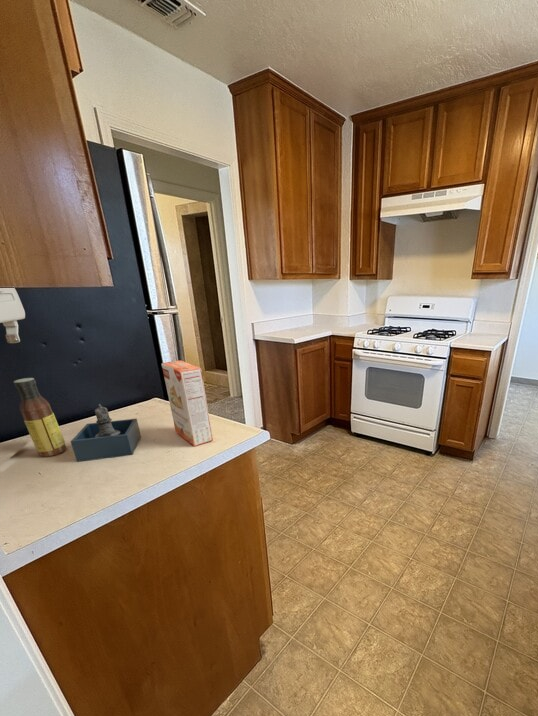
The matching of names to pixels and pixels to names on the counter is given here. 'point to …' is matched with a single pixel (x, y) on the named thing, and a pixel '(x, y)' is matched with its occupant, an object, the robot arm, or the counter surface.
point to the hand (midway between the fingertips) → (3, 346)
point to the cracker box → (188, 401)
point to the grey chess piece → (104, 423)
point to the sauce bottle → (39, 419)
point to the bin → (106, 441)
